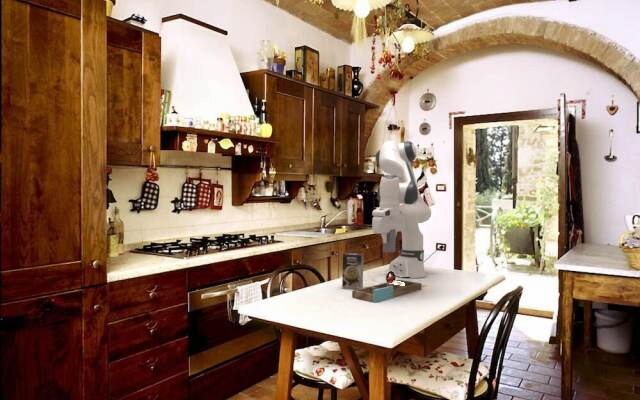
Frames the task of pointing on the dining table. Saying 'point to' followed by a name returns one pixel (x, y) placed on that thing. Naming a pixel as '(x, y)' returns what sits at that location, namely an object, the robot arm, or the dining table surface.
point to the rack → (385, 291)
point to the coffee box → (352, 271)
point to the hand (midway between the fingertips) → (389, 242)
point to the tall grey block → (390, 241)
